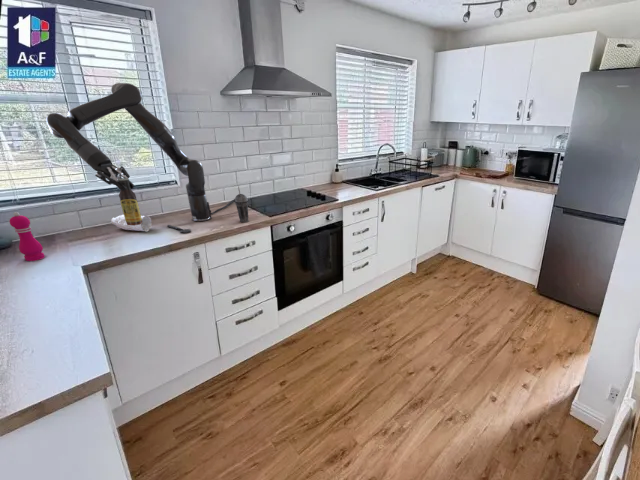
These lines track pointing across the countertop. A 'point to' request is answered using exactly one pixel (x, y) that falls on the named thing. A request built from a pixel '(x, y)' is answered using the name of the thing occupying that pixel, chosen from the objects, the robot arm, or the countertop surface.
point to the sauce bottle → (129, 204)
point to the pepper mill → (26, 238)
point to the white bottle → (144, 226)
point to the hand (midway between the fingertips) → (128, 188)
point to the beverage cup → (242, 207)
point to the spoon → (180, 229)
